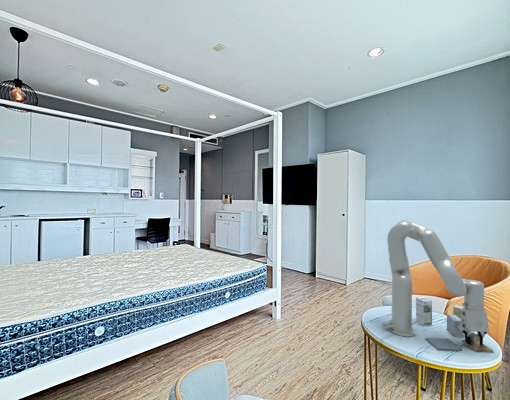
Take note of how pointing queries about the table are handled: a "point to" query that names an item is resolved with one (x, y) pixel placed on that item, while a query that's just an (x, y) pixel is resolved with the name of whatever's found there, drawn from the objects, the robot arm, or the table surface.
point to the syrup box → (424, 311)
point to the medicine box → (454, 325)
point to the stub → (477, 344)
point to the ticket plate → (443, 344)
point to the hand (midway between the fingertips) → (473, 343)
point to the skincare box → (457, 311)
